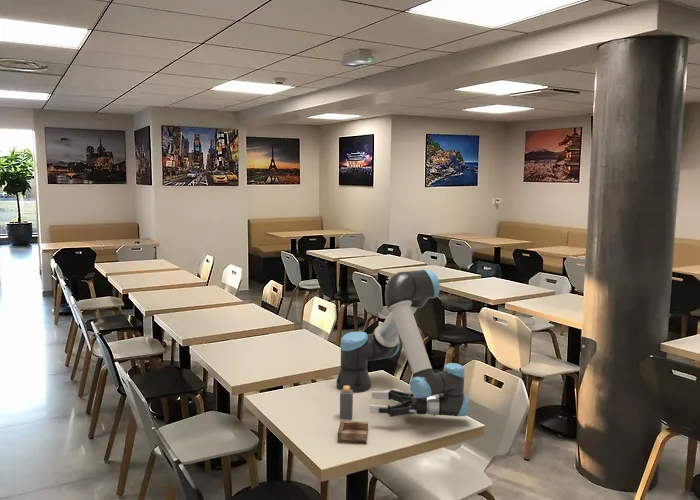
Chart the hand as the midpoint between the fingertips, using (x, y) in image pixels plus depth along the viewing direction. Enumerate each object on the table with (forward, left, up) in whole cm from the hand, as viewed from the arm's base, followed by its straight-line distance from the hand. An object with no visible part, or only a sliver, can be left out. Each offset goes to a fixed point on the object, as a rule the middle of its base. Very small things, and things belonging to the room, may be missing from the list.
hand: (370, 401), depth 216 cm
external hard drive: (-25, +1, -7) cm, 26 cm away
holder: (+17, +1, -6) cm, 19 cm away
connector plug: (+3, -9, -6) cm, 11 cm away
